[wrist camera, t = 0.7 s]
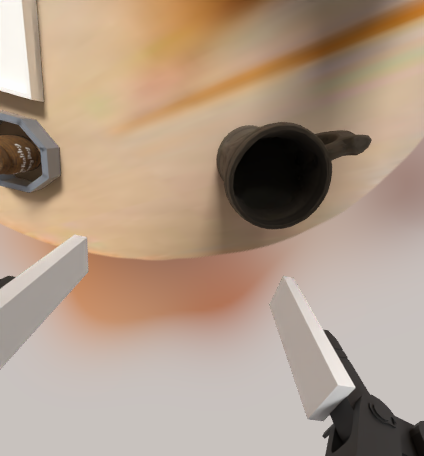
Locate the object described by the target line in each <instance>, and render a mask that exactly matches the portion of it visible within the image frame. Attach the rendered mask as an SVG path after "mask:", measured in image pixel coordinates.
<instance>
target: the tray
mask: <svg viewBox="0 0 424 456" xmlns="http://www.w3.org/2000/svg"><path fill="white" fill-rule="evenodd" d="M0 91H3V92H7V93H10V94H14V95H17V96H20V97H24V98H27V99H31V100H36V101H41V102H44V94H43V81H42V67H41V54H40V41H39V28H38V15H37V2H36V0H0Z"/></svg>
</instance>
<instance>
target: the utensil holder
mask: <svg viewBox="0 0 424 456" xmlns="http://www.w3.org/2000/svg"><path fill="white" fill-rule="evenodd" d="M40 160H41V158H40V153H39V151H38V149H37V148H36V146H35V145H34V144H33V143H32V142H31V141H29V140H28V139H26V138H24V137H21V136H16V135H0V175H1V174H6V175H11V174H18V173H23V172H27V171H31V170H34V169H36V168H37V167H38V166H39V164H40Z"/></svg>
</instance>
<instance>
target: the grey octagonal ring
mask: <svg viewBox="0 0 424 456" xmlns="http://www.w3.org/2000/svg"><path fill="white" fill-rule="evenodd" d="M4 121H6V122H10V123H14V124H17V125H19V126H20V127H21V128H22V129H23V131H24V132H25V133H26V134H27V135H28V136H29V137H30V139H31V140H32V141H33V142H34V143H35V144H36V145H37V147H38V148H39V149H40V153H41V163H42V174H43V175H41V176H40V177H39V178H37V179H36V180H35V181H30V180H26V179H22V178H18V177H16V176H15V175H14V174H11V175H6V174H1V175H0V186H4V187H8V188H12V189H16V190H20V191H25V192H29V193H30V192H33V191H36V190H40V189H43V188H44V187H45V186H47V185H48V184H49V183H51V182H52V181H54V180H55V179H56V178H58V177H59V176H61V169H60V150H59V147H58V145H57V144H56V143H55V142H54V141H53V139H52V138H51V137H50V136H49V135H48V133H47V132H46V131H45V130H44V129H43V127H42V126H41V125H40V124H39V123H38V121H37V120H35V119H32V118H28V117H25V116H21V115H17V114H14V113H10V112H7V111H3V110H0V124H1V123H3V122H4Z"/></svg>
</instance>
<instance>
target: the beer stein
mask: <svg viewBox="0 0 424 456" xmlns="http://www.w3.org/2000/svg"><path fill="white" fill-rule="evenodd" d="M370 143H371V138H370V137H369V136H367V135H355V134H353V133H351V132H349V131H343V130H341V131H330V132H323V133H318V134H314V133H312V132H311V131H309V130H308V129H306V128H304V127H302V126H301V125H297V124H294V123H287V122H278V123H273V124H268V125H265V126H262V127H257V126H242V127H239V128H237V129H235V130H233V131H232V132H230V133H229V134H228V135H227V136H226V137H225V138H224V140H223V141H222V143H221V145H220V147H219V149H218V154H217V165H218V170H219V172H220V175H221V177H222V179H223V181H224V186H225V191H226V195H227V198H228V200H229V202H230V204H231V205H232V207H233V208H234V209H235V211H236V212H237V213H238V214H239V215H240V216H241V217H242V218H244V219H245V220H247V221H248V222H250V223H252V224H253V225H256V226H258V227H261V228H266V229H282V228H287V227H291V226H293V225H295V224H297V223H299V222H301V221H303V220H305V219H306V218H308V217H309V216H310V215H311V214H312V213H313V212H314V211H316V209H317V208H318V207H319V205H320V204H321V203H322V201H323V200H324V198H325V196H326V194H327V192H328V189H329V186H330V182H331V176H332V163H331V161H332V160H334V159H336V158H339V157H341V156H346V155H358V154H360V153H362V152H363V151H364V150H365V149H367V148H368V146H369V145H370Z"/></svg>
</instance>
